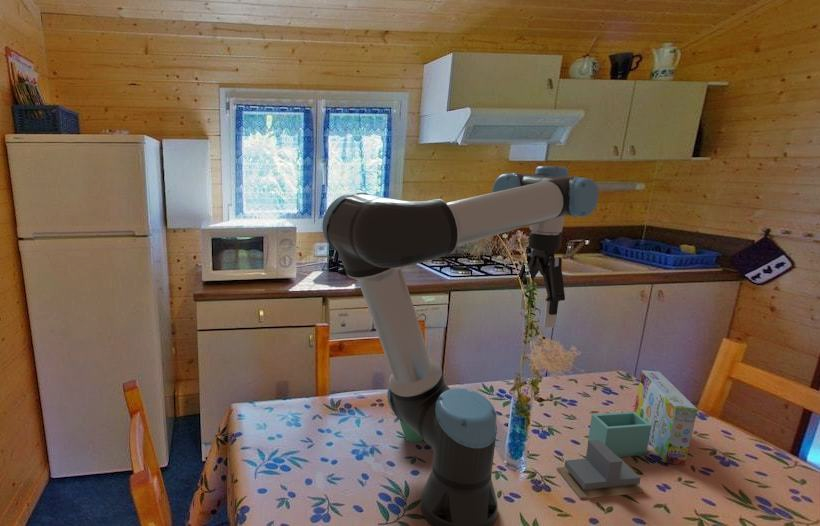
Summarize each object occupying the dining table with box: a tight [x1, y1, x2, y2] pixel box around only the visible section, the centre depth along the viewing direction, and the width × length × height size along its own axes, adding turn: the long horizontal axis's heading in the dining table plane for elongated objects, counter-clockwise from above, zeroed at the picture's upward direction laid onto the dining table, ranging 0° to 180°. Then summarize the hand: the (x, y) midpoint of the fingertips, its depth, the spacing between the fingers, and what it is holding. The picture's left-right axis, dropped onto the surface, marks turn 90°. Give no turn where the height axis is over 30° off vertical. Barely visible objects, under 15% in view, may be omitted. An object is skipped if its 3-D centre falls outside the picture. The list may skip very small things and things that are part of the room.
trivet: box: [556, 466, 644, 500], centre depth 105 cm, size 15×10×1 cm, turn 102°
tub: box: [587, 411, 651, 458], centre depth 117 cm, size 12×6×8 cm, turn 102°
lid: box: [564, 440, 641, 490], centre depth 104 cm, size 14×8×7 cm, turn 102°
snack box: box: [633, 369, 698, 466], centre depth 121 cm, size 21×6×15 cm, turn 175°
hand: (536, 317), depth 116 cm, fingers open, 13 cm apart
